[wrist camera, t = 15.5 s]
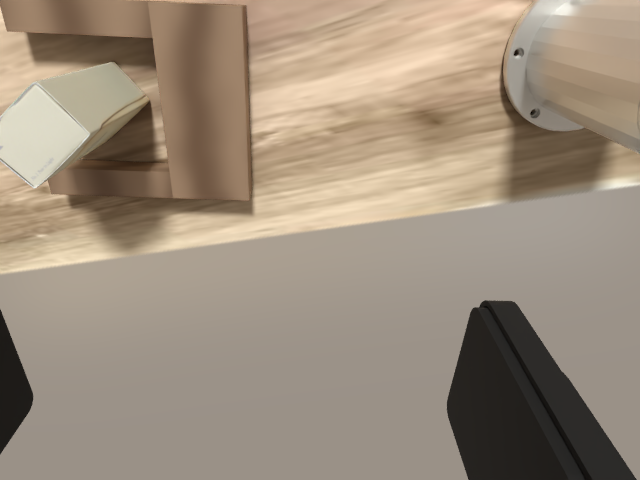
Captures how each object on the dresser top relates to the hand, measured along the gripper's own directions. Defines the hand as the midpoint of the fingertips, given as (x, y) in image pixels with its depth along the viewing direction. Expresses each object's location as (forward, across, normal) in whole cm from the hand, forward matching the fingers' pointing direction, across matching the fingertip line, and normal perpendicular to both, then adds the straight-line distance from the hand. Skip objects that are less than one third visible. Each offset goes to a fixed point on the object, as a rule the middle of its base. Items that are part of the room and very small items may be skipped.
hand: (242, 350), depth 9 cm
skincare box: (+34, +16, +2) cm, 37 cm away
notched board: (+33, +13, +2) cm, 36 cm away
